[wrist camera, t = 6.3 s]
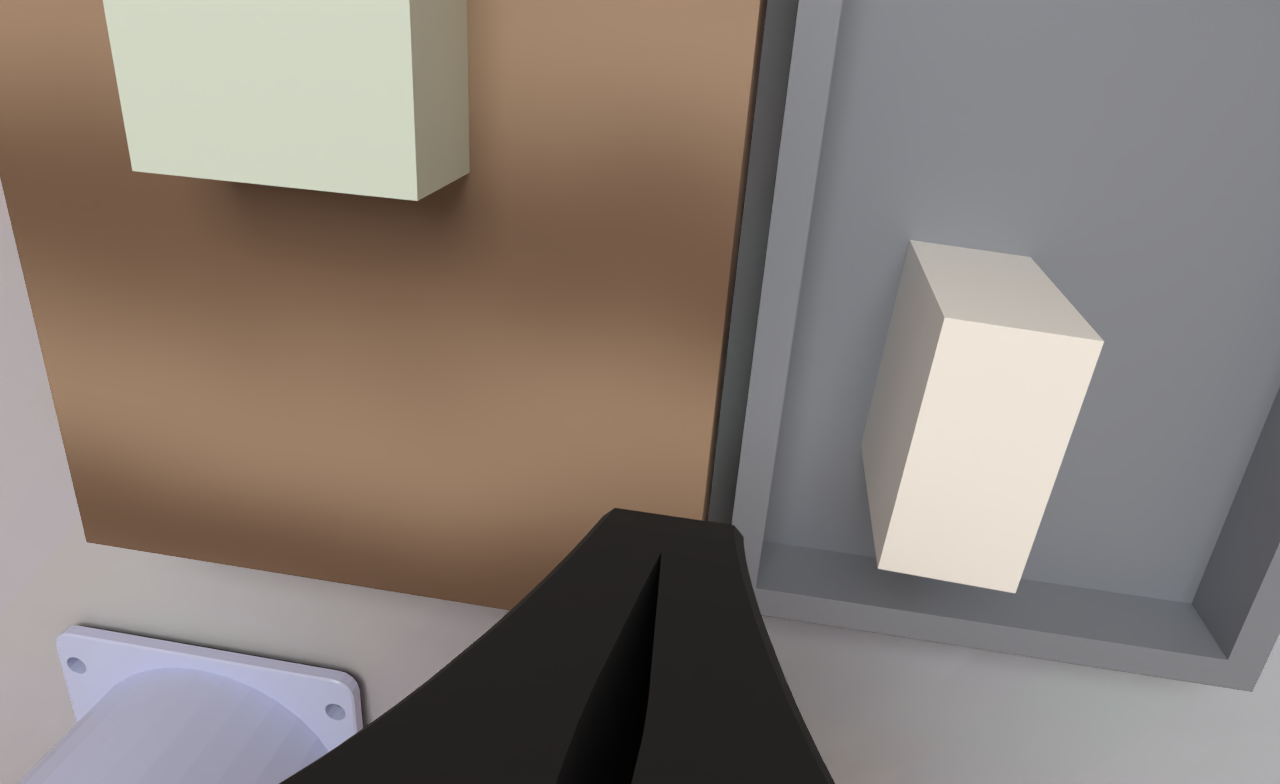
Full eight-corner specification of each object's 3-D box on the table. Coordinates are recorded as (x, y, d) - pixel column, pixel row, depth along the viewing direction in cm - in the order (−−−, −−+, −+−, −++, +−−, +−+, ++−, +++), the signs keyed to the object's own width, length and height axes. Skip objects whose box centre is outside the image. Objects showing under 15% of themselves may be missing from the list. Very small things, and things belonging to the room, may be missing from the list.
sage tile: (469, 172, 13) (417, 200, 11) (220, 147, 14) (132, 170, 12) (464, -139, 11) (403, -164, 10) (180, -156, 12) (72, -181, 10)
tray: (1205, 619, 18) (1251, 692, 16) (728, 549, 19) (720, 608, 17) (1522, -139, 12) (1648, -161, 10) (820, -173, 13) (825, -199, 11)
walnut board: (704, 546, 19) (689, 639, 16) (181, 468, 20) (86, 542, 17) (787, -175, 13) (784, -217, 11) (62, -211, 15) (-103, -256, 12)
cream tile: (860, 445, 17) (968, 463, 17) (877, 568, 13) (1015, 593, 13) (909, 240, 15) (1030, 256, 15) (945, 317, 11) (1103, 341, 11)
